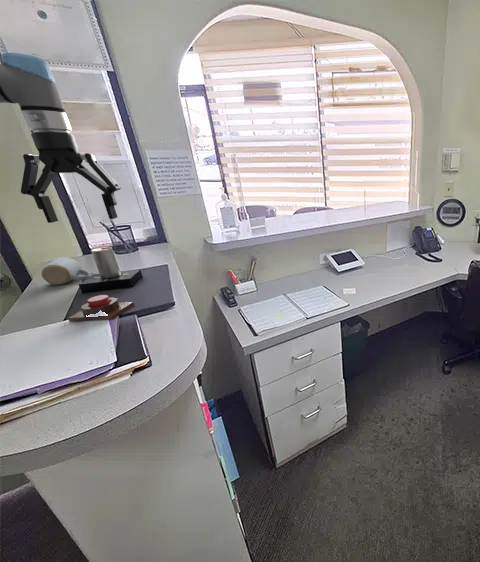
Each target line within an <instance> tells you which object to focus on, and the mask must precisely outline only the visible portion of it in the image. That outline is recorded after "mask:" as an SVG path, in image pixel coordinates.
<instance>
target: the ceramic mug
mask: <svg viewBox="0 0 480 562" xmlns="http://www.w3.org/2000/svg"><path fill="white" fill-rule="evenodd" d="M81 275H82V276H81ZM91 276H92V274H91V272H90V271H87V270H85V269H82V266H81V264H80V263H79V262H78V261H77V260H76V259H73V258H71V257H67V256H61V257H56V258H55V259H54V260H52V261H50V262H49V263H48V264H46V265H45V266H44V267H43V268H42V270H41V277H42V279H43V280H44V281H45V282H47V283H48V284H50V285H55V286H57V285H58V286H60V285H65V284H67V283H69V282H71V281H72V280H74V281H81V282H83V281H85V280H86V279H88V278H89V277H91Z"/></svg>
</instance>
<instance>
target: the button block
mask: <svg viewBox="0 0 480 562" xmlns="http://www.w3.org/2000/svg"><path fill="white" fill-rule="evenodd" d="M108 297H109V296H108ZM109 300H110V302H109V303H108V304H105V305H102V306H97V307H90V306H89V304H88V302H86V303H84V304H82V305H81V307H80V311H78V312H76V313H74V314H73V315H71V316H69V317H67V320H68V322H69V323H76V322H94V321H95V322H96V321H97V322H98V321H113V320H115V319H116V318H118V317H119V316H121V315H123V314H124V313H125V312H128V310H130V309H132V308H136V305H135V303H134V301H124V302H122V301H121V302H120V301H119V299H118V297H113V296H112V297H111V296H110V297H109ZM100 310H101V311H102V312H105V313H106V314H108V316H98V317H86V315H87V316H88V315H90V314H96V313H98V312H99V311H100Z"/></svg>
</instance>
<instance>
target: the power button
mask: <svg viewBox="0 0 480 562" xmlns="http://www.w3.org/2000/svg"><path fill="white" fill-rule="evenodd" d="M86 301H87V303H88V304H89V306H90V307H97V306H102V305H105V304H108V303H109V302H110V300H109V295H108V294H99V295H95V296H92V297H89V298H88V299H87V300H86Z"/></svg>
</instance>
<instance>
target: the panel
mask: <svg viewBox="0 0 480 562" xmlns="http://www.w3.org/2000/svg"><path fill="white" fill-rule="evenodd" d="M120 273H121V275H120V276H117V277H114V278H109V279H102V278H101V276H100V273H93V274H91V275H90V277H89V278H88V279H86V280H82V281H81V282H80V283H79V284H78V287H79V290H80V292H81V294H89V293H97V292H105V291H114V290H123V289H130V288H129V287H132V288H133V287H135V286H136V285H137V284H138V283H139V282H140V281H141V280H142V279H143V278H144V276H143V273H142V269H141V268H138V269H127V270H120ZM142 277H143V278H142ZM141 278H142V279H141ZM140 279H141V280H140ZM139 280H140V281H139Z"/></svg>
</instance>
